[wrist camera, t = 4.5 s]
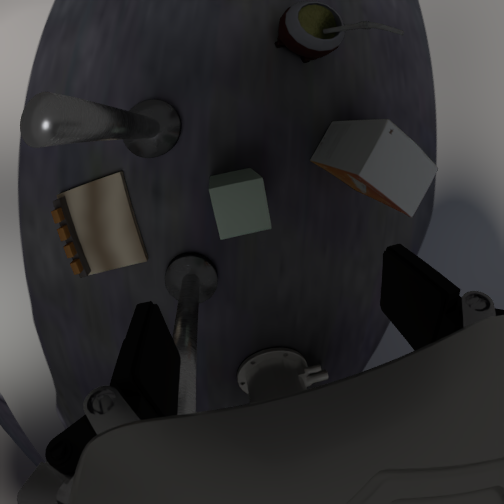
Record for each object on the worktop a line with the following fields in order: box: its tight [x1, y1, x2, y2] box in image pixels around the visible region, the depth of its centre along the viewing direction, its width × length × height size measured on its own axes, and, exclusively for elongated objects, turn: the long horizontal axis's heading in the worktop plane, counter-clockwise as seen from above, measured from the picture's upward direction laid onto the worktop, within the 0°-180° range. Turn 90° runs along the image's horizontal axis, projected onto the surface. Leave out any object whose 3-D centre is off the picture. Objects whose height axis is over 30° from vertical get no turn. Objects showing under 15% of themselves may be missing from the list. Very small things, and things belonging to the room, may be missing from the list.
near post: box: [20, 92, 181, 158], centre depth 19 cm, size 7×7×24 cm
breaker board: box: [51, 171, 148, 278], centre depth 32 cm, size 10×12×4 cm
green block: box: [209, 168, 272, 240], centre depth 30 cm, size 5×5×9 cm
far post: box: [165, 253, 217, 415], centre depth 27 cm, size 7×7×24 cm
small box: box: [310, 119, 438, 218], centre depth 28 cm, size 8×6×13 cm
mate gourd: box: [275, 1, 404, 63], centre depth 21 cm, size 8×8×15 cm
